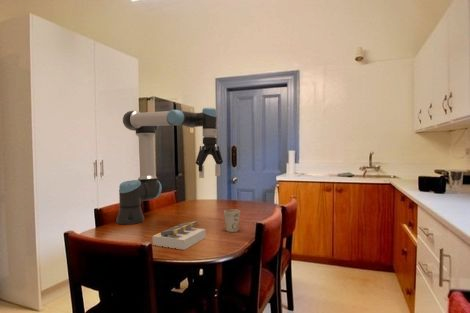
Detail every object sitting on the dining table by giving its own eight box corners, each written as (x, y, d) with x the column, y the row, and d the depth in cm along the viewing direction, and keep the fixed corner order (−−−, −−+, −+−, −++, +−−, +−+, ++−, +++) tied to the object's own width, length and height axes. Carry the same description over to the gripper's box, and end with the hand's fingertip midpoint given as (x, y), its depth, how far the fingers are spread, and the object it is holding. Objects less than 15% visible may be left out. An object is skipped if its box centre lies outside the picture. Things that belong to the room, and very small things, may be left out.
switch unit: (152, 245, 127) (152, 233, 127) (176, 234, 144) (176, 224, 143) (184, 249, 121) (184, 237, 121) (205, 237, 137) (205, 227, 137)
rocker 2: (169, 232, 132) (168, 228, 132) (174, 229, 136) (174, 226, 136) (186, 229, 128) (185, 226, 128) (191, 227, 132) (190, 224, 132)
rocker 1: (161, 235, 126) (160, 232, 126) (166, 233, 130) (166, 229, 130) (178, 233, 123) (177, 229, 123) (183, 230, 127) (183, 227, 127)
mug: (228, 233, 144) (228, 213, 144) (218, 227, 155) (218, 208, 155) (243, 231, 148) (243, 211, 148) (232, 225, 159) (232, 207, 159)
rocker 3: (177, 228, 137) (176, 225, 137) (182, 226, 141) (181, 223, 141) (193, 226, 134) (192, 223, 134) (197, 224, 138) (197, 221, 138)
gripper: (199, 136, 145) (199, 179, 145) (228, 137, 165) (229, 175, 166) (188, 136, 149) (188, 178, 149) (218, 138, 170) (218, 174, 170)
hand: (209, 176), depth 158 cm, fingers open, 13 cm apart
